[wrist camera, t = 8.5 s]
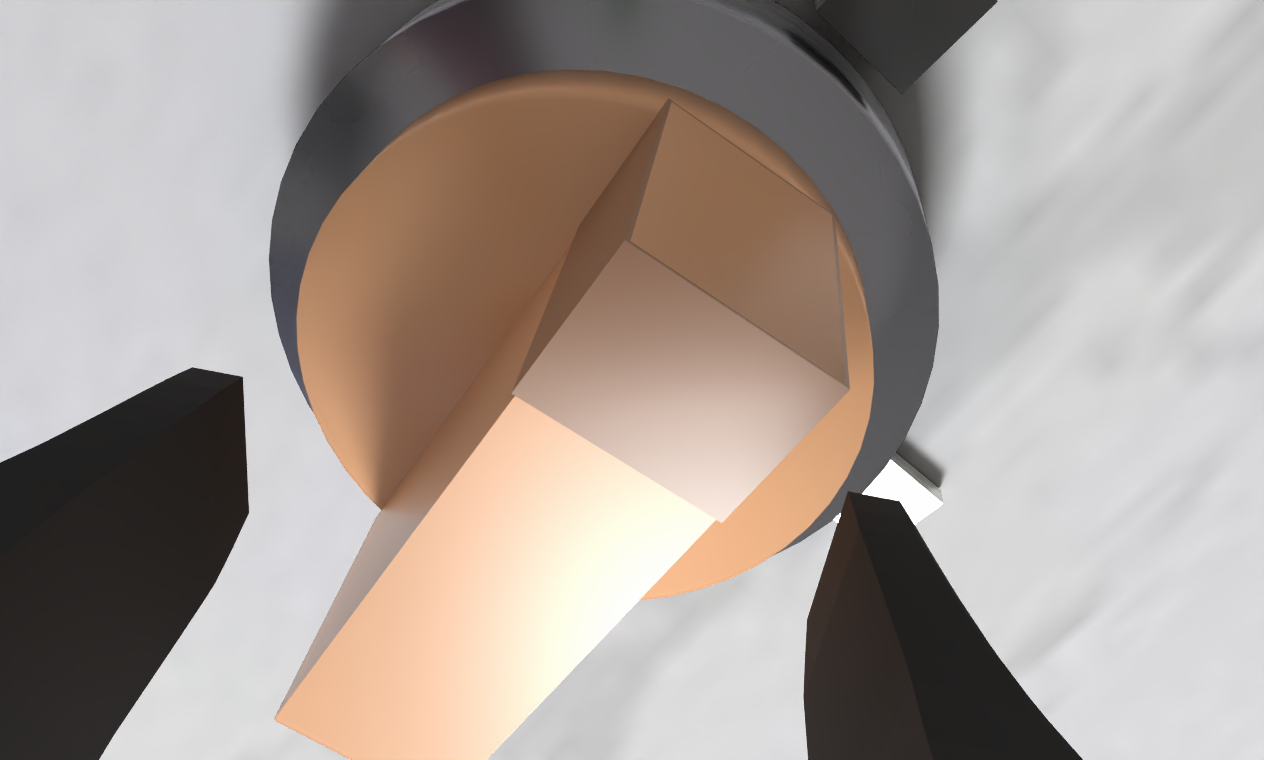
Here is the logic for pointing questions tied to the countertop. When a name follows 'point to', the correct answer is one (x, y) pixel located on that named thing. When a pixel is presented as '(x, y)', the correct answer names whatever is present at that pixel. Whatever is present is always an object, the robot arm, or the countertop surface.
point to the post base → (720, 72)
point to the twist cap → (562, 391)
